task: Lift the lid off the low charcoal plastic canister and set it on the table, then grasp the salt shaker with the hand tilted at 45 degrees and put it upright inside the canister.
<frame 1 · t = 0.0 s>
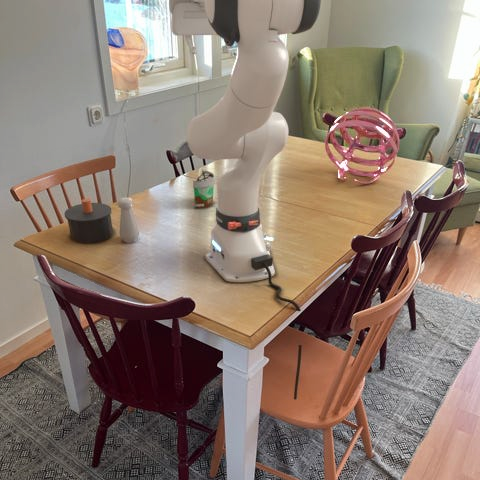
hand: (209, 53, 134), 48 cm above the table, tool pointing down, fingers open, 8 cm apart
canister: (92, 234, 149), on the table
canister lid: (88, 213, 145), point 7 cm above the table, touching canister
salt shaker: (130, 240, 146), on the table
food container: (207, 204, 169), on the table
pink ring sphere sculpture: (358, 178, 193), on the table
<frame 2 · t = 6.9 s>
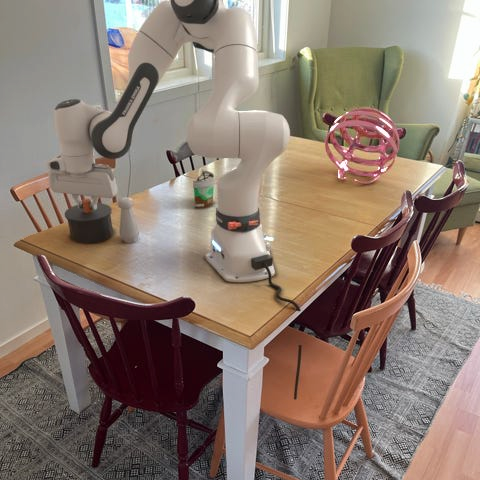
hand: (87, 208, 144), 8 cm above the table, tool pointing down, fingers closed on canister lid, 2 cm apart
canister lid: (88, 213, 145), point 7 cm above the table, touching canister, gripper
everything else where it was.
when the fingers open (2 cm above the table, at t = 13.2 s): canister lid stays where it is, point 1 cm above the table.
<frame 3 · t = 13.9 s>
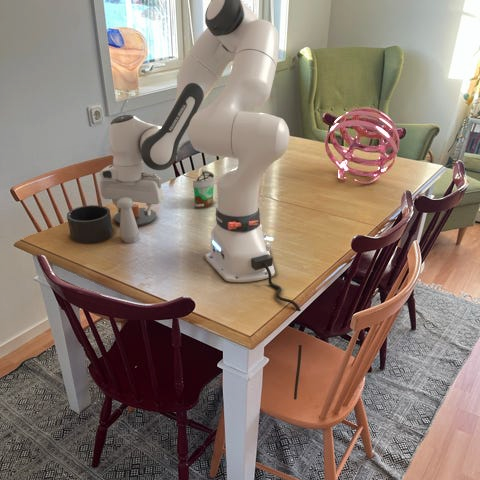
hand: (134, 213, 157), 2 cm above the table, tool pointing down, fingers open, 8 cm apart
canister lid: (135, 217, 158), point 1 cm above the table
everything else where it was.
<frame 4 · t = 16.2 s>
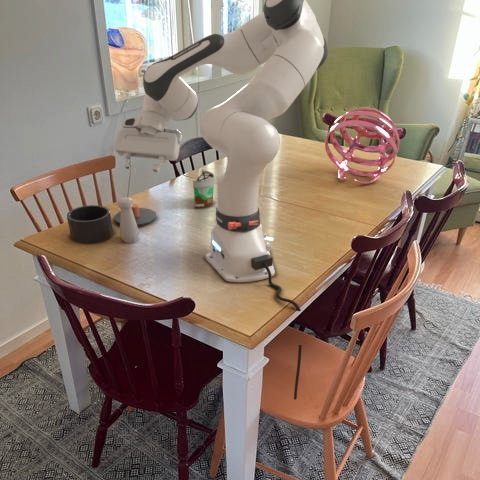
hand: (141, 169, 145), 18 cm above the table, tool tilted 45°, fingers open, 8 cm apart
nothing on the table moved.
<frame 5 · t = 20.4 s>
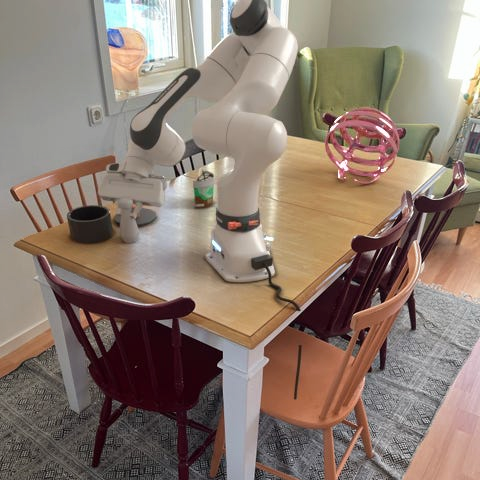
hand: (125, 216, 141), 8 cm above the table, tool tilted 45°, fingers closed on salt shaker, 3 cm apart
salt shaker: (130, 240, 146), on the table, touching gripper
everything else where it was.
when the fingers open (8 cm above the table, at t = 28.8 s): salt shaker stays where it is, resting on canister.
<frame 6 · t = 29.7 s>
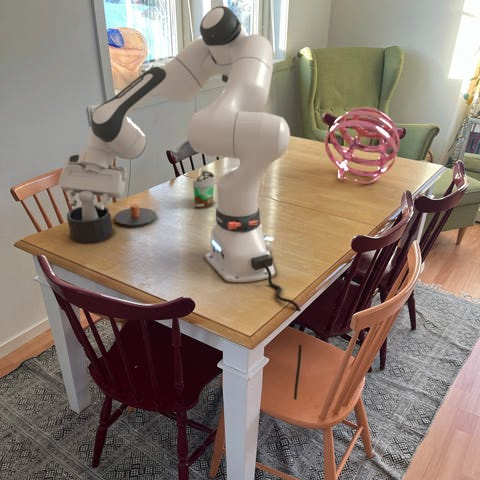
hand: (85, 207, 143), 9 cm above the table, tool tilted 45°, fingers open, 8 cm apart
salt shaker: (93, 233, 149), resting on canister
everything else where it was.
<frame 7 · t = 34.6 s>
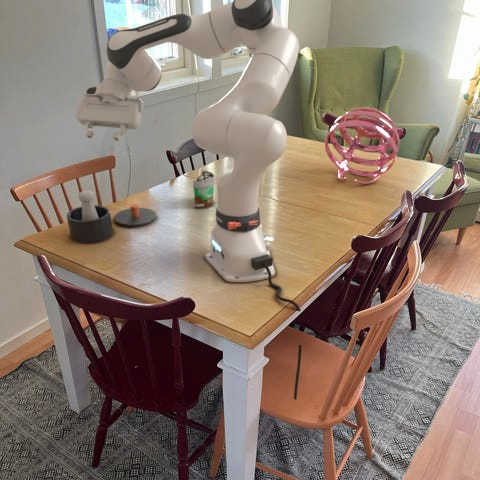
hand: (102, 138, 145), 25 cm above the table, tool tilted 45°, fingers open, 8 cm apart
nothing on the table moved.
at the end: canister lid inside the target area (0.2 cm from its centre), point 0.6 cm above the table; salt shaker 0.2 cm off-centre in the canister, point 0.3 cm above the canister's base; salt shaker tilted 0° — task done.
